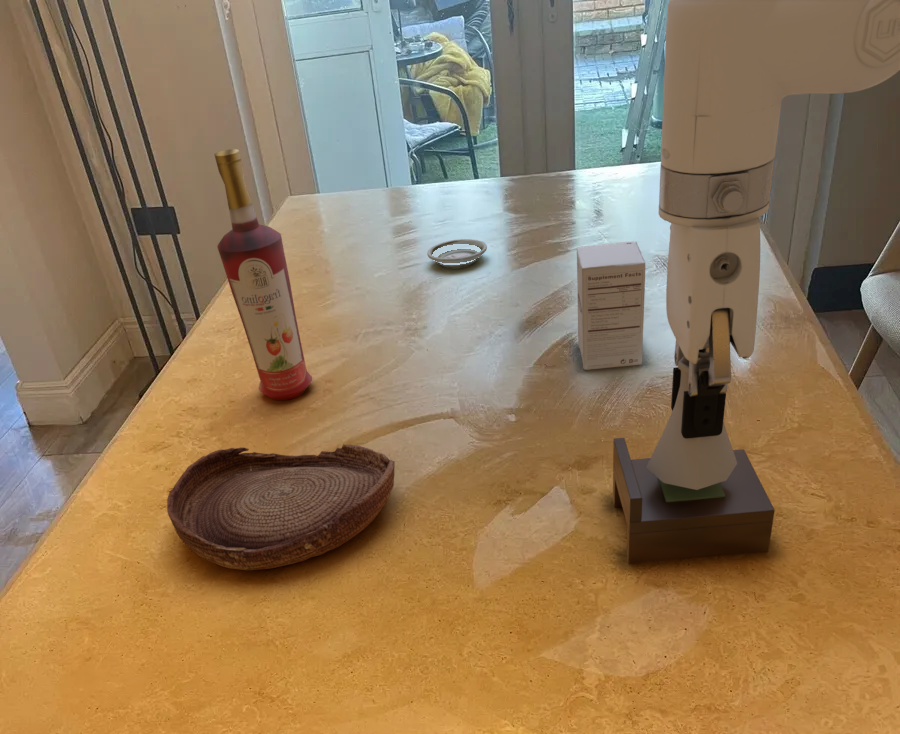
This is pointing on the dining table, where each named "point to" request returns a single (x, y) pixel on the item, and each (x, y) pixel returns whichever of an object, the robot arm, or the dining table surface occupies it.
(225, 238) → the liquor
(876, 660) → the dining table surface
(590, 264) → the white packaging box
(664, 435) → the flask
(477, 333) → the dining table surface
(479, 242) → the saucer
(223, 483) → the basket
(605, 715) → the dining table surface
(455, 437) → the dining table surface
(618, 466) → the brown toy bed
